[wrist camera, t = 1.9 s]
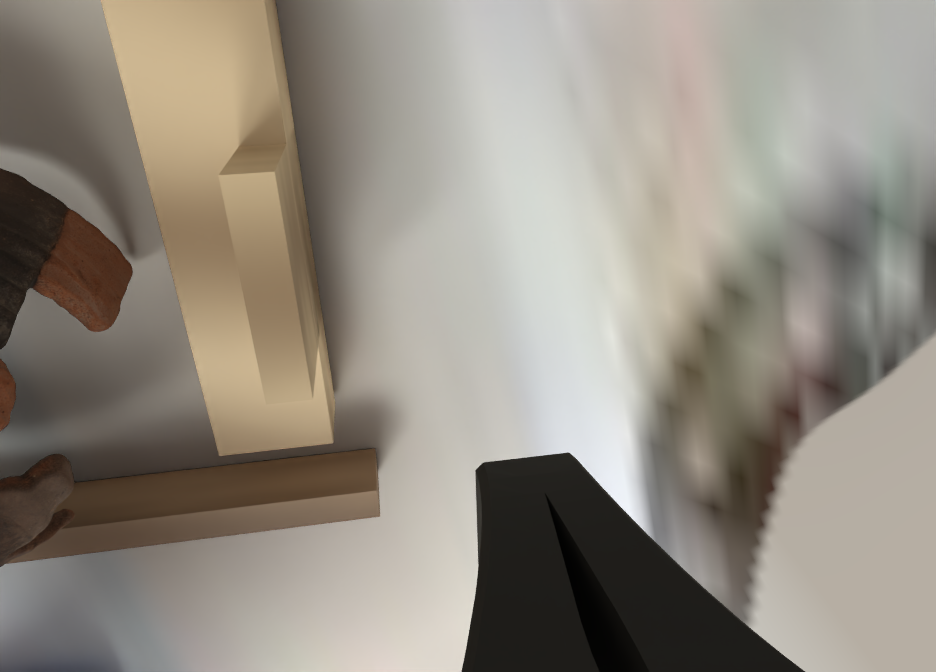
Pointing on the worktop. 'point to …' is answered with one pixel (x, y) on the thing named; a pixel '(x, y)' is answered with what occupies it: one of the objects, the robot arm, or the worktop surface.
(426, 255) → the worktop surface
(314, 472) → the wooden frame
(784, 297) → the worktop surface
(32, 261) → the pottery mug
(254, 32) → the beige wooden block
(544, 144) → the worktop surface
